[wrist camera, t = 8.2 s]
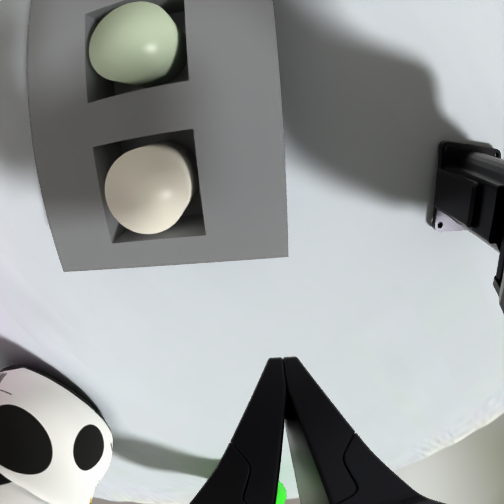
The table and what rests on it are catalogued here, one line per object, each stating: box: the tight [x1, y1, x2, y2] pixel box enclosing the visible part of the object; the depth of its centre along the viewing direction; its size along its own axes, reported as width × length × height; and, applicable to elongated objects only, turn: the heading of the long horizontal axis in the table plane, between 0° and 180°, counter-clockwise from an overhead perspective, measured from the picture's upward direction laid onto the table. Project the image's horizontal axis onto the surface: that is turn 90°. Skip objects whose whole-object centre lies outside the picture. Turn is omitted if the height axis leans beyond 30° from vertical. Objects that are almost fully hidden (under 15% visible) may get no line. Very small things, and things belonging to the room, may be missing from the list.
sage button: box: [89, 1, 187, 88], centre depth 12 cm, size 4×4×4 cm
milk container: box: [0, 365, 113, 504], centre depth 20 cm, size 17×17×18 cm
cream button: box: [105, 141, 199, 234], centre depth 15 cm, size 4×4×4 cm
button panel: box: [27, 0, 288, 272], centre depth 12 cm, size 13×23×4 cm, turn 4°
